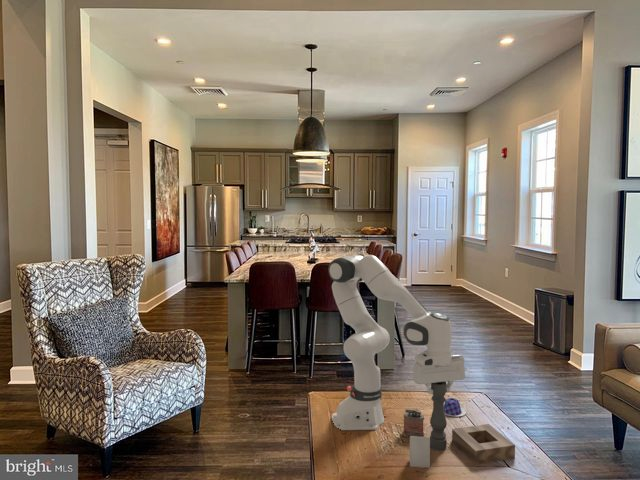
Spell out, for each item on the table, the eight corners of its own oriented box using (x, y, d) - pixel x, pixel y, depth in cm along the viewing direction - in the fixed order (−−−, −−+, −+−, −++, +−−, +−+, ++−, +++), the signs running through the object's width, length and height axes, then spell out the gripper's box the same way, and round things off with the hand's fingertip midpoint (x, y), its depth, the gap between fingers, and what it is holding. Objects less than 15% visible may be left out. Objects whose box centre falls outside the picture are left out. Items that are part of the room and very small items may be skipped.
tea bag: (429, 468, 155) (430, 440, 154) (410, 466, 156) (410, 439, 155) (428, 461, 159) (429, 435, 158) (409, 460, 160) (409, 433, 159)
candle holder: (447, 451, 165) (447, 386, 163) (430, 449, 166) (430, 385, 164) (445, 442, 171) (446, 380, 169) (429, 441, 172) (429, 378, 170)
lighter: (424, 433, 179) (424, 409, 178) (423, 437, 175) (423, 413, 175) (404, 430, 181) (404, 406, 180) (402, 434, 178) (402, 410, 177)
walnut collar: (475, 464, 157) (475, 450, 156) (452, 441, 172) (452, 428, 172) (514, 458, 160) (515, 445, 160) (488, 436, 176) (488, 423, 175)
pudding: (446, 403, 206) (446, 392, 206) (470, 411, 198) (471, 399, 197) (433, 412, 197) (433, 400, 197) (458, 420, 189) (458, 409, 189)
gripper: (459, 351, 171) (459, 386, 173) (410, 356, 167) (410, 391, 168) (468, 357, 165) (468, 393, 166) (418, 362, 161) (417, 398, 162)
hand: (438, 392), depth 167 cm, fingers closed on candle holder, 5 cm apart
